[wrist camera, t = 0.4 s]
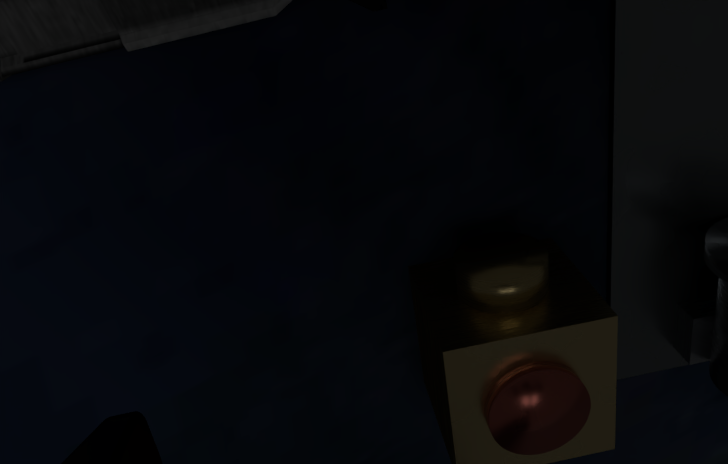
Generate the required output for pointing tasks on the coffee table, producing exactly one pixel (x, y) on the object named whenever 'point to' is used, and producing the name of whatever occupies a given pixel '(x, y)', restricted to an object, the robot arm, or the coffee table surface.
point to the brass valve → (516, 352)
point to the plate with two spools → (669, 185)
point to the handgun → (115, 26)
